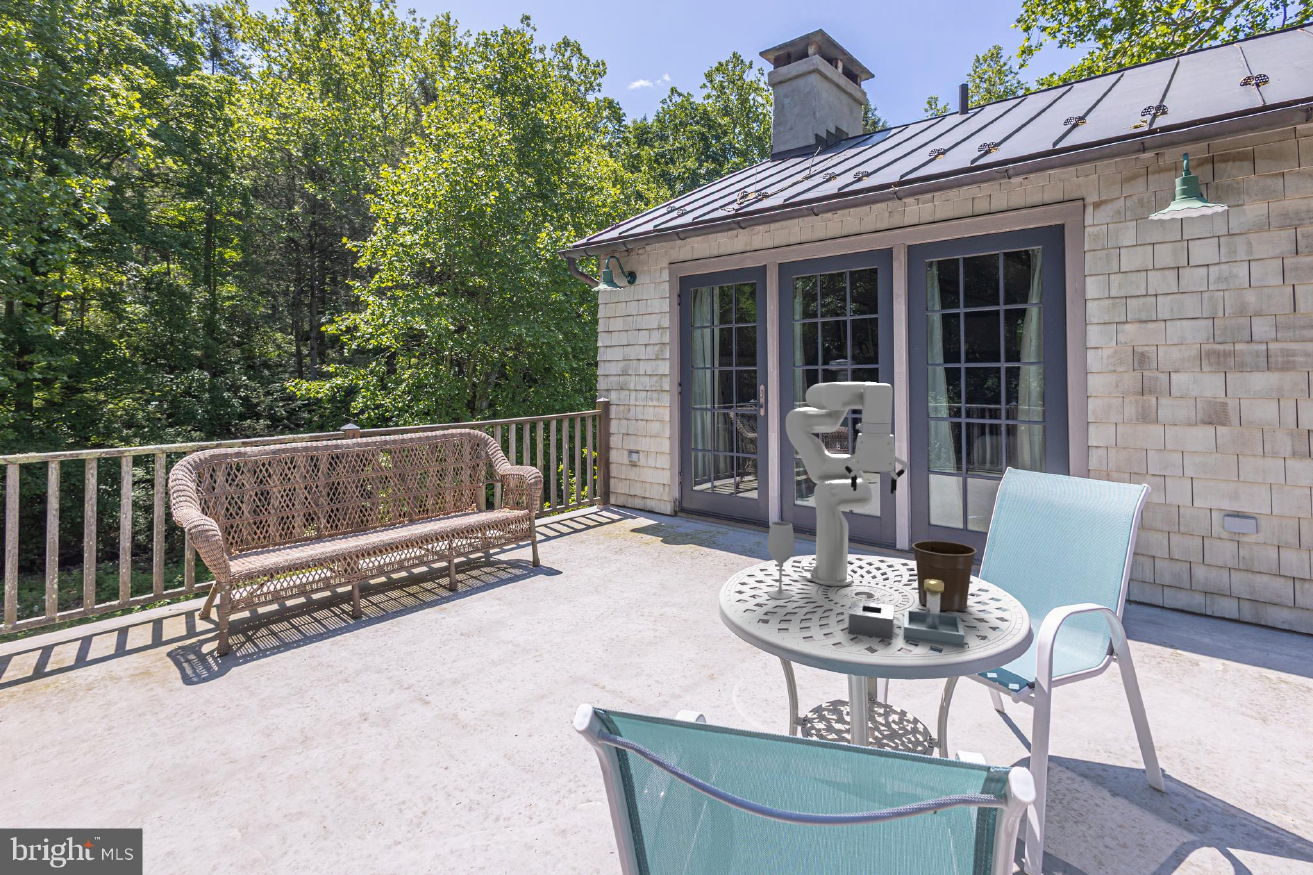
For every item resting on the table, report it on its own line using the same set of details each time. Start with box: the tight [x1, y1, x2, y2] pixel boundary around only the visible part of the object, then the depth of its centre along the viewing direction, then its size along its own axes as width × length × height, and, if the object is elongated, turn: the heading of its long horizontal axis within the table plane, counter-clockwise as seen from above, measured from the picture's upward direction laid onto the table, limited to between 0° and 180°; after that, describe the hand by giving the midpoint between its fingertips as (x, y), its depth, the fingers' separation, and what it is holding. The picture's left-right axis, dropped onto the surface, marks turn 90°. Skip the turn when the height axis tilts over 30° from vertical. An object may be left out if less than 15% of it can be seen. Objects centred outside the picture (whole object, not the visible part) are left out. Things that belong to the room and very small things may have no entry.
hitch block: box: [848, 600, 895, 641], centre depth 155 cm, size 10×10×5 cm
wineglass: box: [767, 520, 796, 600], centre depth 180 cm, size 8×8×21 cm
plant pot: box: [911, 540, 978, 612], centre depth 173 cm, size 16×16×16 cm
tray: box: [903, 608, 965, 648], centre depth 153 cm, size 13×13×3 cm
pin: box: [924, 579, 944, 630], centre depth 152 cm, size 4×4×12 cm
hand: (873, 491), depth 171 cm, fingers open, 9 cm apart
